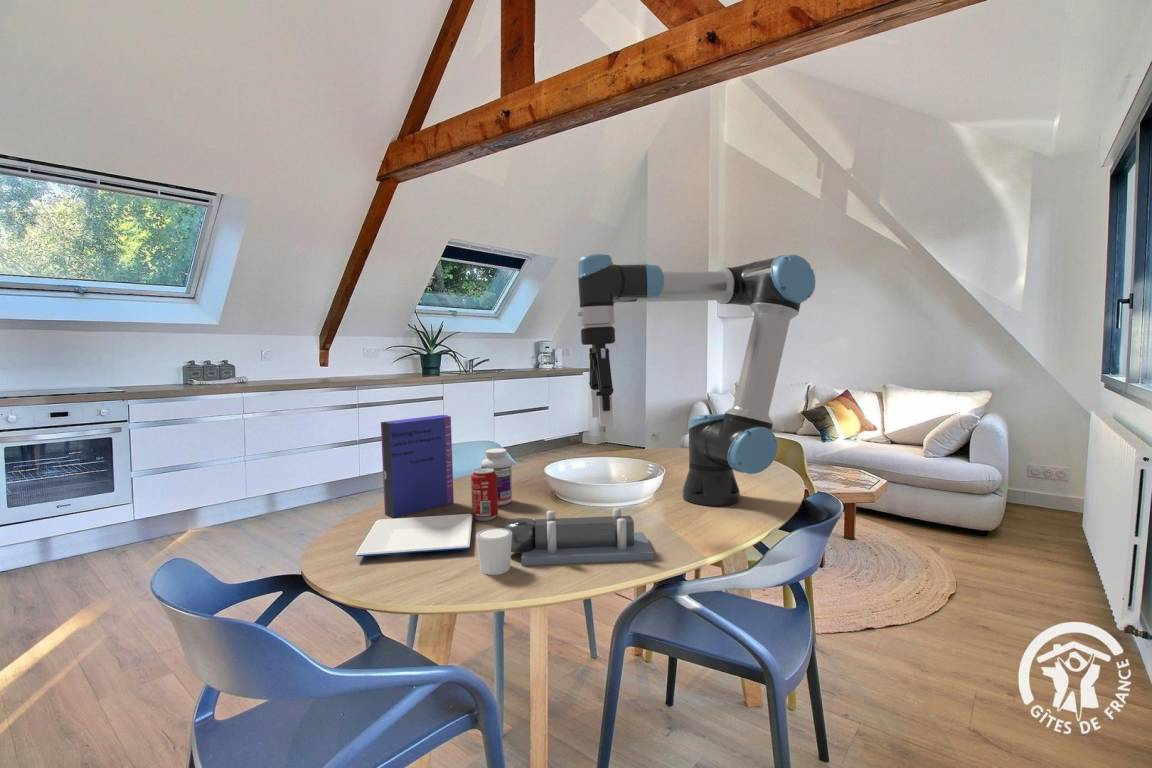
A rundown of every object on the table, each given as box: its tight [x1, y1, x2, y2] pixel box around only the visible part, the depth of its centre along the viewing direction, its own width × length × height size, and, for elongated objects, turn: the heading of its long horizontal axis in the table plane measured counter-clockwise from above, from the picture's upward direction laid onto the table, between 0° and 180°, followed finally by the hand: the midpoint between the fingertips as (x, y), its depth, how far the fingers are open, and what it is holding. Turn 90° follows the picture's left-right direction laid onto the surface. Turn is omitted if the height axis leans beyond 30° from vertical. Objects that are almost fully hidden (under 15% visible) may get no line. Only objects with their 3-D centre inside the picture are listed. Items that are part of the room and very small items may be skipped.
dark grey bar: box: [504, 515, 635, 554], centre depth 115 cm, size 26×6×5 cm, turn 94°
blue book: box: [380, 414, 455, 519], centre depth 147 cm, size 17×5×24 cm, turn 135°
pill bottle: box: [481, 448, 513, 507], centre depth 151 cm, size 8×8×14 cm
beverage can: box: [470, 468, 499, 522], centre depth 138 cm, size 6×6×12 cm
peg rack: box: [520, 507, 655, 566], centre depth 115 cm, size 26×12×8 cm, turn 94°
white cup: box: [475, 527, 512, 576], centre depth 107 cm, size 7×7×7 cm
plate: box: [355, 513, 473, 557], centre depth 124 cm, size 22×22×2 cm
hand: (602, 421), depth 126 cm, fingers open, 13 cm apart
